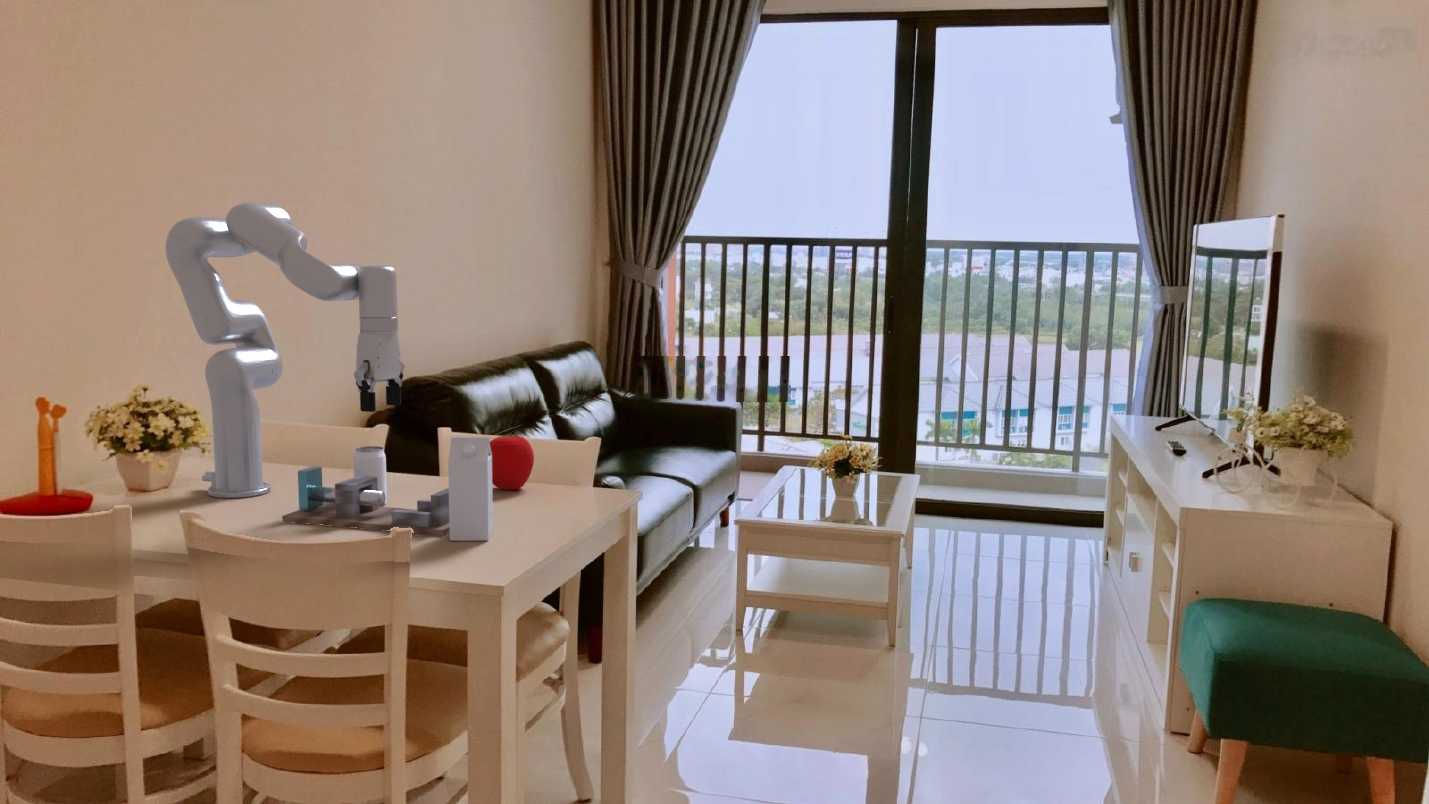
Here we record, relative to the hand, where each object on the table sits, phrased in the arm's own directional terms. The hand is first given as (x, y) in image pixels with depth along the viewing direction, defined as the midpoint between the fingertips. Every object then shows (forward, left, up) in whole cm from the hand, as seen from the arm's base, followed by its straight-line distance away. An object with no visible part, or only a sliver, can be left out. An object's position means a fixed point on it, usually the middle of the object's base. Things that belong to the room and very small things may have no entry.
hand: (381, 408), depth 227 cm
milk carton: (+29, -17, -21) cm, 40 cm away
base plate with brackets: (+7, -12, -21) cm, 25 cm away
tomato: (+18, +23, -21) cm, 36 cm away
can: (-3, 0, -21) cm, 21 cm away
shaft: (-1, -12, -19) cm, 23 cm away
